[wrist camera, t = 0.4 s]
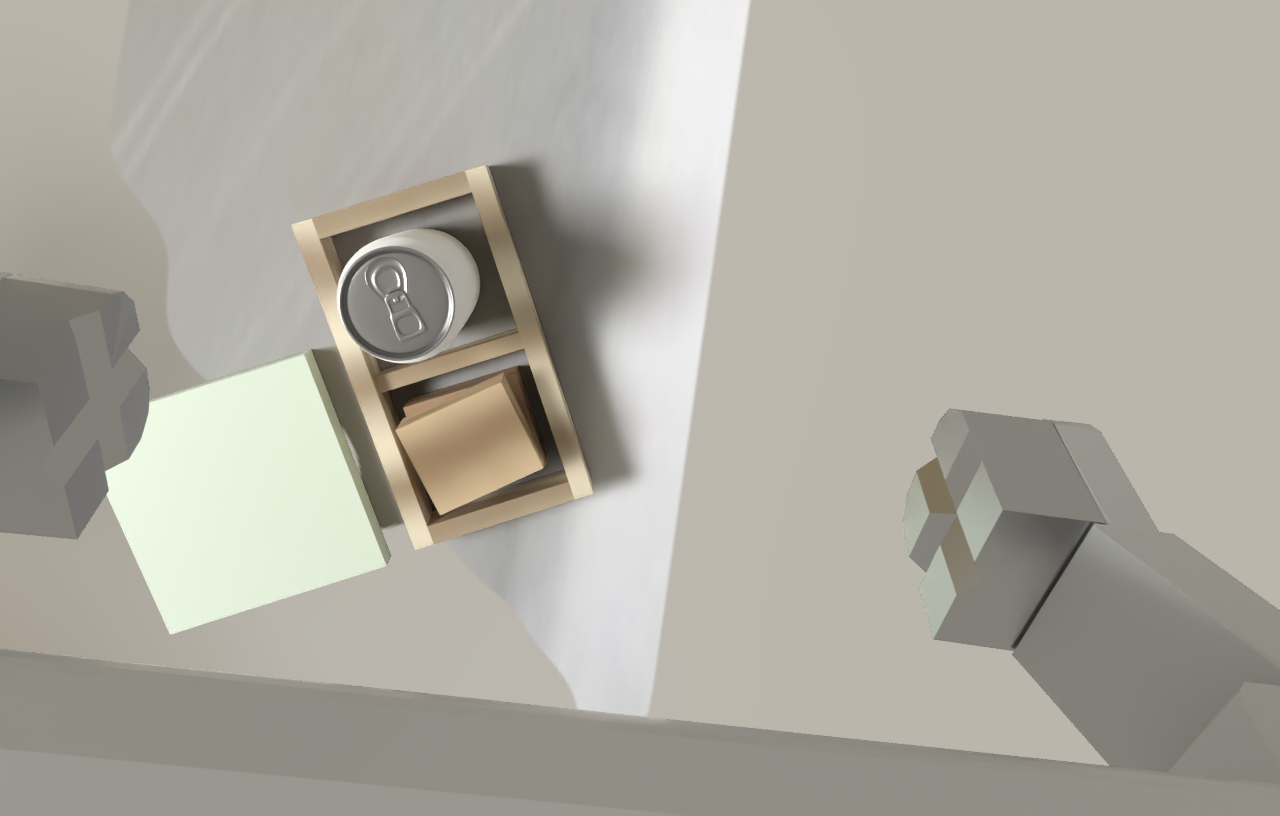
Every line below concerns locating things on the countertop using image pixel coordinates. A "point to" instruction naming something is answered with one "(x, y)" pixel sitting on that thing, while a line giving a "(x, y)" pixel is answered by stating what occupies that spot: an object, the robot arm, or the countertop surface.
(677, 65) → the countertop surface
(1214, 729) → the robot arm
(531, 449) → the offcut upper
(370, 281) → the can
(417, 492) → the rack
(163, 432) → the board
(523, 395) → the offcut lower
